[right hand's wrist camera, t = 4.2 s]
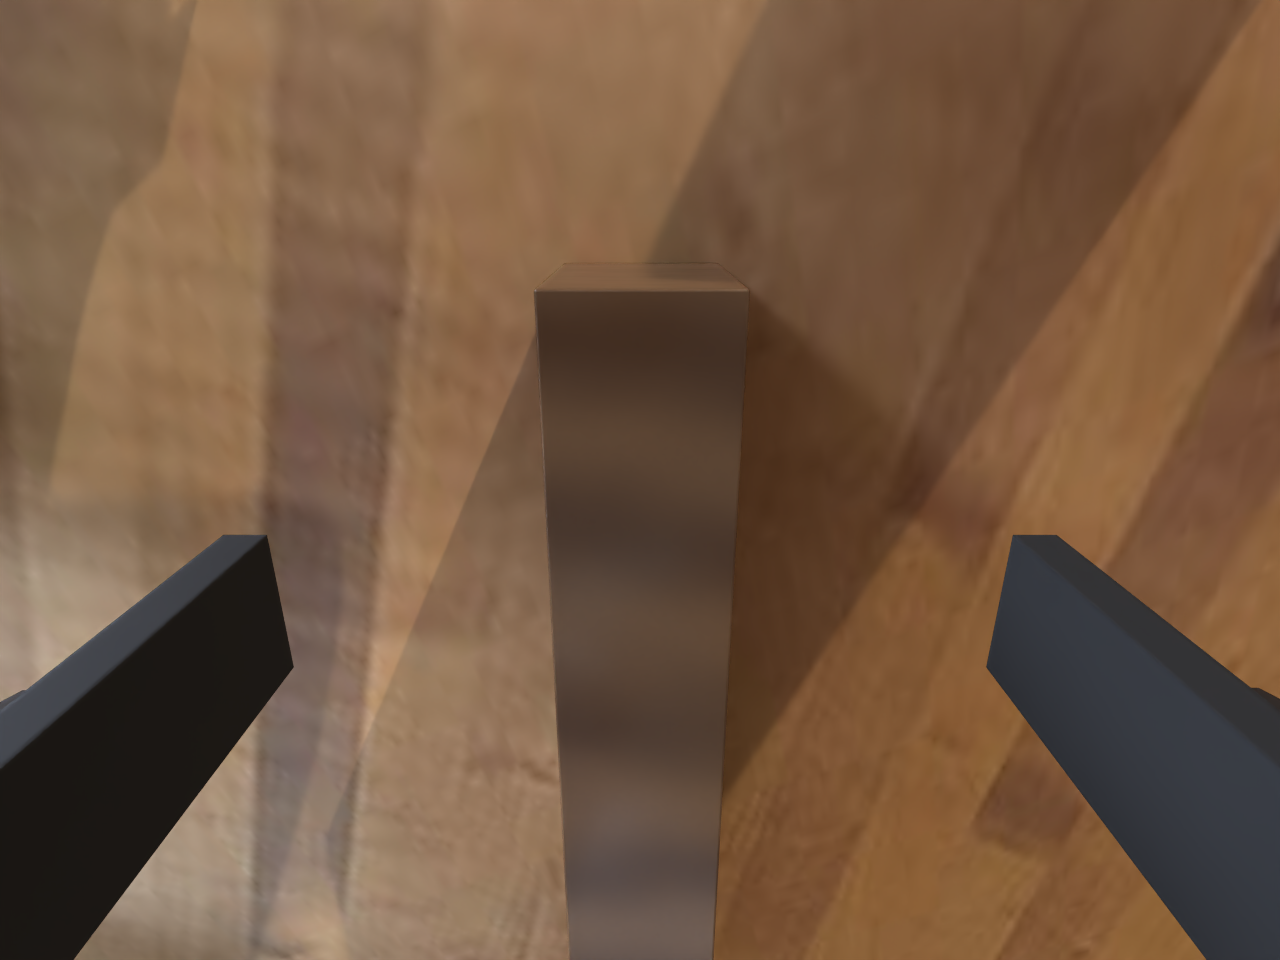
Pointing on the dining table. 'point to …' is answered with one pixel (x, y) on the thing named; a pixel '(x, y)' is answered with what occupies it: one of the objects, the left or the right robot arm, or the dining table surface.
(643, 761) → the beam
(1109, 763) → the right robot arm
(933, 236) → the dining table surface
